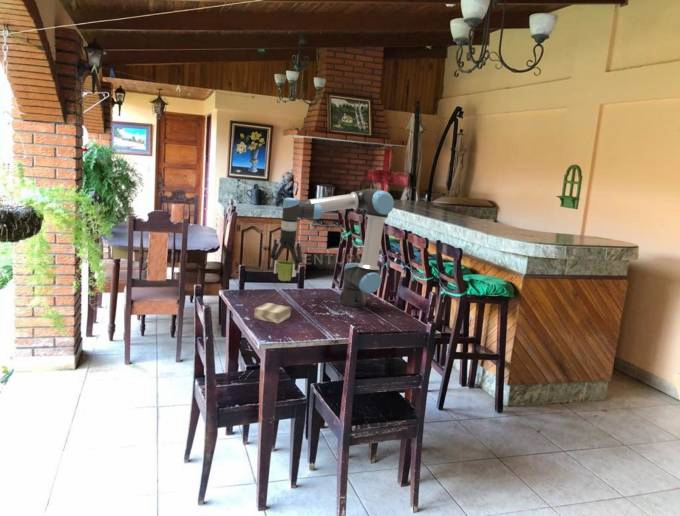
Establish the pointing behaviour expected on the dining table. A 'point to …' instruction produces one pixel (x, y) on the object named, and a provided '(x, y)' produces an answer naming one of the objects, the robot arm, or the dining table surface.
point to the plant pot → (285, 270)
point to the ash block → (272, 312)
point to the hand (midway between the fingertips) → (284, 274)
